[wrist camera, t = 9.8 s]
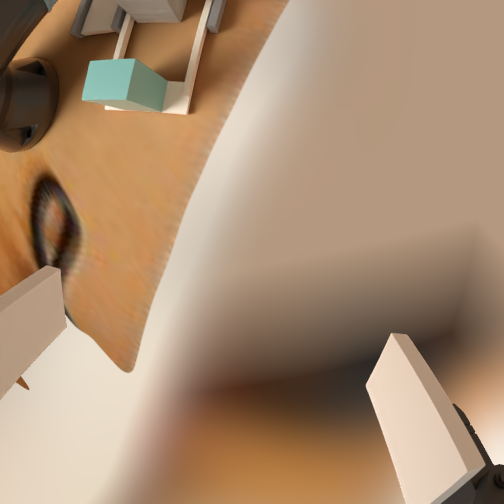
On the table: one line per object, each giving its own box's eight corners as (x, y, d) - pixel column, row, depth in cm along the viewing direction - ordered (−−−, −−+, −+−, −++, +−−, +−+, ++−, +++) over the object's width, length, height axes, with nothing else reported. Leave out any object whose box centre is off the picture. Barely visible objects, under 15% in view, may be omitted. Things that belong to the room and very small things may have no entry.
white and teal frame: (107, 110, 32) (58, 101, 21) (146, -26, 25) (118, -64, 14) (187, 115, 32) (158, 101, 22) (224, -28, 25) (213, -75, 15)
